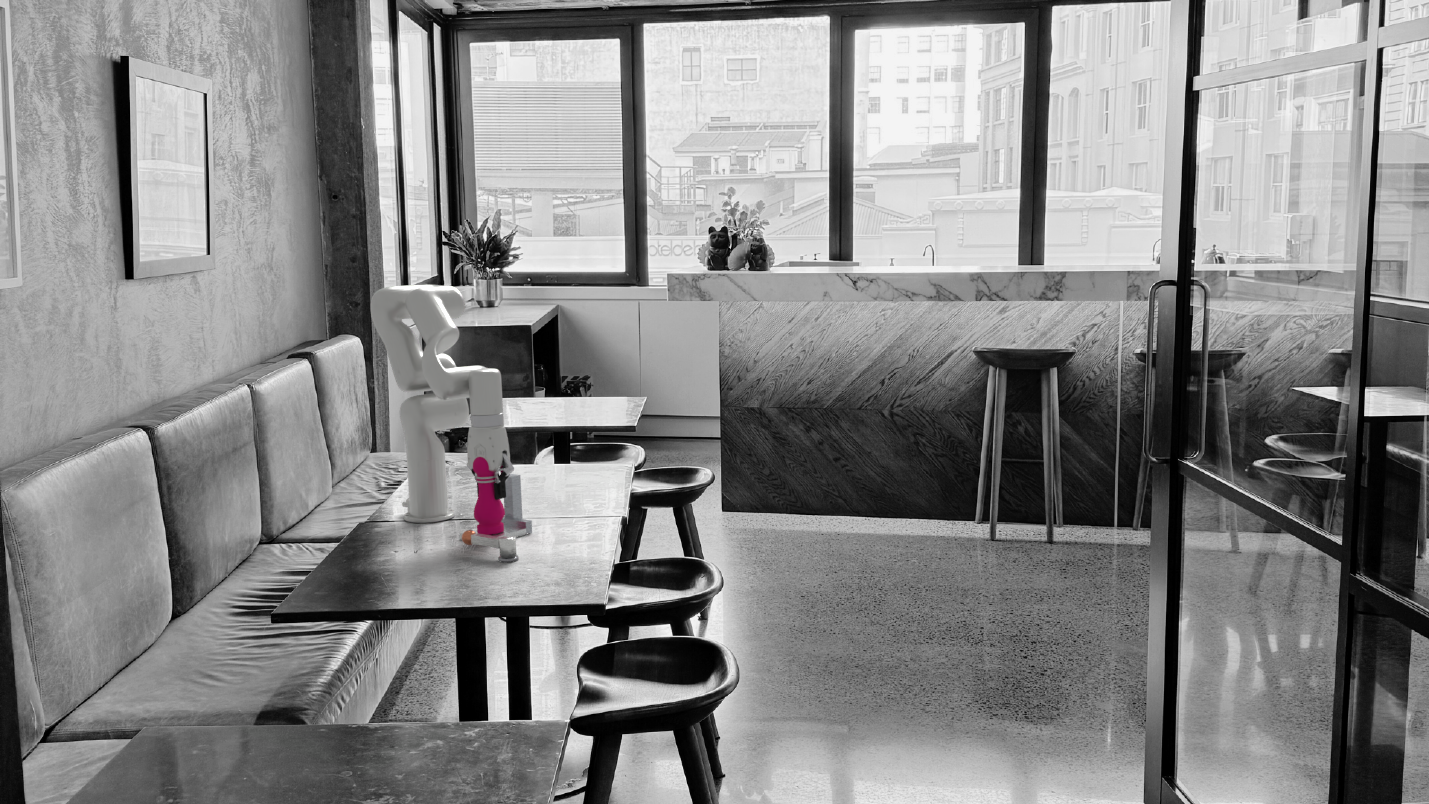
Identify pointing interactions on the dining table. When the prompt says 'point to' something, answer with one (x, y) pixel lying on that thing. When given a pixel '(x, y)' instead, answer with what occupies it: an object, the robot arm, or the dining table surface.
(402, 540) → the dining table surface
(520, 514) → the press bed
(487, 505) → the pepper mill
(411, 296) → the robot arm
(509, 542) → the lever
